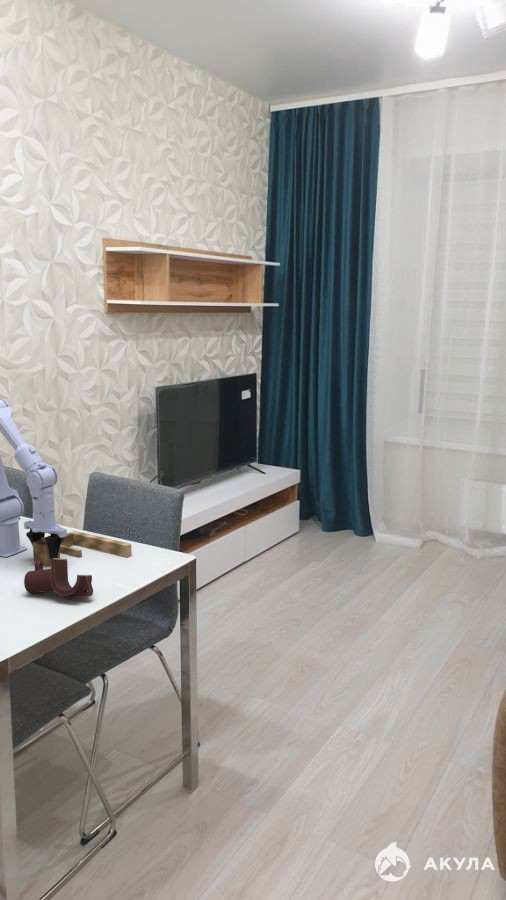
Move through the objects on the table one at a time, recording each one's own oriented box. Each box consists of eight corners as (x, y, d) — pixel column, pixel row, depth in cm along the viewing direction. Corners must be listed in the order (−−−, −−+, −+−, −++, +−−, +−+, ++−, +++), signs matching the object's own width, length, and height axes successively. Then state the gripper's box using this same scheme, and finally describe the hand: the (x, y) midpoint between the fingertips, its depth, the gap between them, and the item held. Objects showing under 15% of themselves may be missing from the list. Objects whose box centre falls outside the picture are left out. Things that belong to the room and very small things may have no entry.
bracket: (85, 596, 172) (83, 554, 174) (23, 602, 177) (22, 561, 179) (98, 595, 178) (96, 554, 180) (38, 601, 183) (36, 562, 185)
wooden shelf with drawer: (52, 550, 209) (52, 539, 208) (74, 541, 217) (74, 530, 216) (110, 565, 198) (109, 553, 198) (131, 555, 206) (131, 543, 205)
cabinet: (34, 563, 200) (32, 539, 199) (47, 557, 204) (45, 534, 203) (46, 566, 198) (45, 542, 196) (60, 560, 202) (58, 537, 200)
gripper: (14, 510, 198) (17, 556, 201) (52, 518, 191) (55, 566, 194) (33, 503, 204) (36, 548, 207) (71, 511, 197) (73, 558, 200)
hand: (46, 557), depth 201 cm, fingers closed on cabinet, 5 cm apart
